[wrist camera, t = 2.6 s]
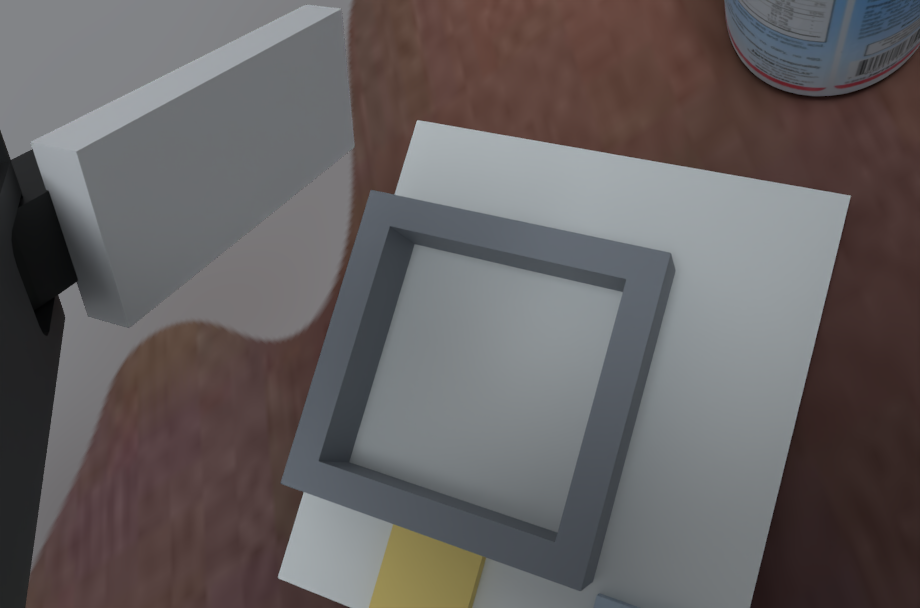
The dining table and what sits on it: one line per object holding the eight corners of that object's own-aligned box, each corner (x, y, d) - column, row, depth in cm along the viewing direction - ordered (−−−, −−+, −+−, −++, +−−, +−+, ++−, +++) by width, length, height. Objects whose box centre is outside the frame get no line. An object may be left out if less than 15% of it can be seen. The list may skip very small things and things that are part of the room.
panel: (847, 204, 25) (861, 170, 22) (713, 745, 23) (712, 782, 21) (425, 129, 30) (393, 93, 27) (289, 575, 28) (241, 586, 25)
